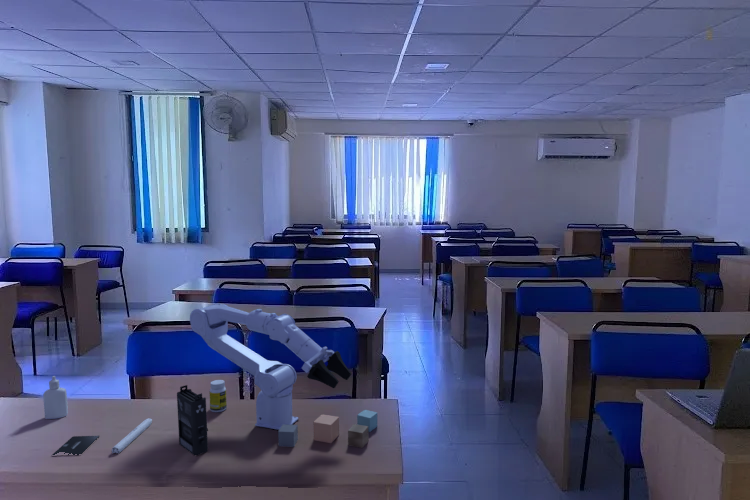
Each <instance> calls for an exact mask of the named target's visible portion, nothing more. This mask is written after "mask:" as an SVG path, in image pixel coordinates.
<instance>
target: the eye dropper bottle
mask: <svg viewBox="0 0 750 500" xmlns="http://www.w3.org/2000/svg"><path fill="white" fill-rule="evenodd" d="M48 384H49V385H48V386H49V388H48V389H46V390H45V391H44V393H43V397H42V399H43V410H44V419H46V420H54V419H55V420H56V419H61V418H64V417H66V416H67V415H68V414H69V408H68V405H69V404H68V395H67V394H68V393H67V389H66V388H65V387H60V379H57V378H56V375H52V377H51V380H50V381H49V382H48Z"/></svg>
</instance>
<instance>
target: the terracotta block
mask: <svg viewBox="0 0 750 500" xmlns="http://www.w3.org/2000/svg"><path fill="white" fill-rule="evenodd" d="M339 436H340V416H335V415H328V414H323V413H321V415H319V416H318V417H317V418H316V419H315V420H314V421H313V440H314V441H315V442H316V441H317V442H323V443H328V444H332V443H333V442H334V441H335V440H336V439H337V438H338V437H339Z"/></svg>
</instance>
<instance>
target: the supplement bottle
mask: <svg viewBox="0 0 750 500" xmlns="http://www.w3.org/2000/svg"><path fill="white" fill-rule="evenodd" d="M226 410H227V388H226V383H225V380H223V379H215V380H212V381H210V389H209V411H210V412H212V413H221V412H224V411H226Z"/></svg>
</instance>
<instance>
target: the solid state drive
mask: <svg viewBox="0 0 750 500" xmlns="http://www.w3.org/2000/svg"><path fill="white" fill-rule="evenodd" d="M97 438H98V439H99V438H100V435H76V436H75V435H74V436H72V437H70V438H69V439H68V440H67V441H66V442H65V443H64V444H63V445H61V446H60V447H59V448H57V450H55V452H53V453H52V454H51V456H52V455H55V454H57V453H59V452H65V453H69V454H71V453H72V454H73V455H75V454H77V455H79V454H82V453H83V452H84V451H85V450H86V449H87V448H88V447H89V446H90V445H91V444H92V443H93V442H94V441H95V440H96V441H97V440H98V439H97ZM96 441H95V442H96ZM95 442H94V443H95ZM94 443H93V444H94ZM93 444H92V445H93ZM92 445H91V446H92ZM91 446H90V447H91ZM90 447H89V448H90ZM89 448H88V449H89ZM88 449H87V450H88ZM85 452H86V451H85ZM85 452H84V453H85ZM65 453H64V454H65ZM84 453H83V454H84ZM69 454H68V455H69ZM83 454H82V455H83Z"/></svg>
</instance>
